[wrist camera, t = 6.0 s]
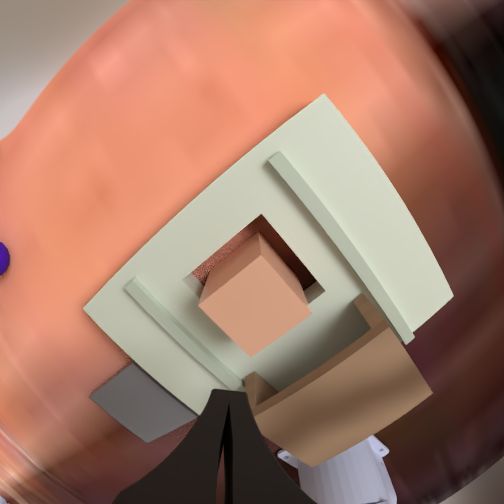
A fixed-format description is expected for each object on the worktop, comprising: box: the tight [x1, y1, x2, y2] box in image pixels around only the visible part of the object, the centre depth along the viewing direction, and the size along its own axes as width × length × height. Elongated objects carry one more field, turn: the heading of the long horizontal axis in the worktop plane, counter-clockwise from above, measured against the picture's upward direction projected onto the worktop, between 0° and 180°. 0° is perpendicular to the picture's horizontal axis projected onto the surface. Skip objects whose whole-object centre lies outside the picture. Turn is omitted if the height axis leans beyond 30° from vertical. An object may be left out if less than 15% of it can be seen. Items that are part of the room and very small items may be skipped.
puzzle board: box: [83, 94, 453, 415], centre depth 19 cm, size 16×20×3 cm
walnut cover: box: [245, 293, 432, 468], centre depth 18 cm, size 7×9×4 cm
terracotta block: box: [198, 231, 312, 357], centre depth 18 cm, size 4×4×5 cm
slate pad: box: [89, 360, 198, 443], centre depth 23 cm, size 7×7×1 cm
